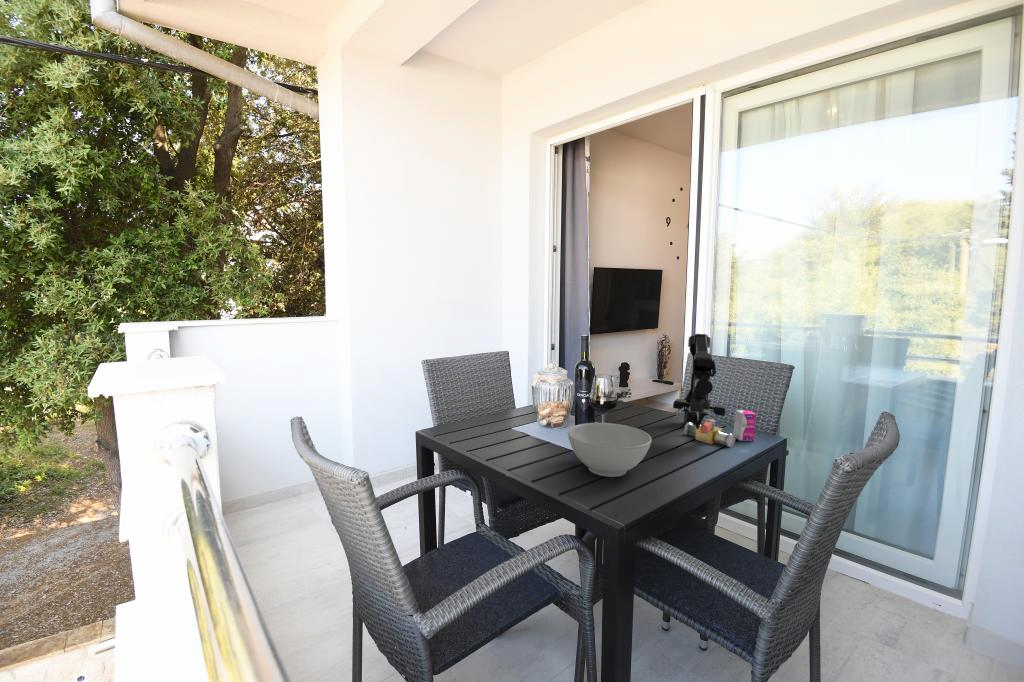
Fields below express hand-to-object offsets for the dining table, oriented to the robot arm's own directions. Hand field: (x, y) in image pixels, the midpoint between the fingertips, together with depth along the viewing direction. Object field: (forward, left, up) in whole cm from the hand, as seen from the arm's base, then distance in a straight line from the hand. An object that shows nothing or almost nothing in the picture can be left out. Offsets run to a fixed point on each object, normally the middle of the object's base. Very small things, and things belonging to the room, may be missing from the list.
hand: (697, 428), depth 188 cm
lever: (+1, +5, -1) cm, 5 cm away
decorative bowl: (0, -49, -7) cm, 49 cm away
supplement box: (+6, +23, -7) cm, 25 cm away
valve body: (-1, +9, -6) cm, 11 cm away
